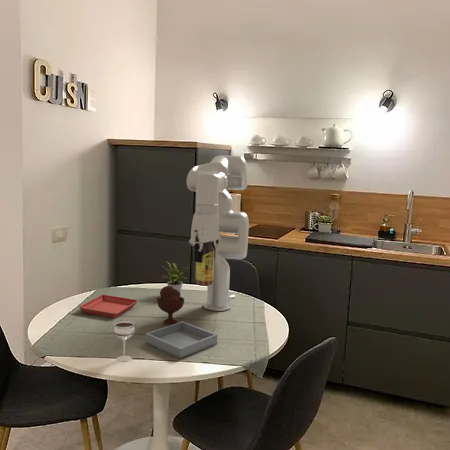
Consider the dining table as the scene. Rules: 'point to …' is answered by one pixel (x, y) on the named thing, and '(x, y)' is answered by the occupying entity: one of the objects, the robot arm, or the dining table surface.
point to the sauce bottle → (205, 266)
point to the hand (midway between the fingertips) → (204, 260)
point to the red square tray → (108, 306)
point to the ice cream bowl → (170, 303)
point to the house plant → (174, 277)
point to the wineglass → (124, 335)
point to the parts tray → (181, 339)
